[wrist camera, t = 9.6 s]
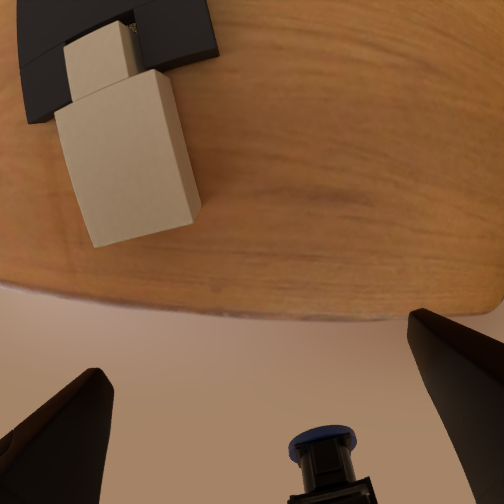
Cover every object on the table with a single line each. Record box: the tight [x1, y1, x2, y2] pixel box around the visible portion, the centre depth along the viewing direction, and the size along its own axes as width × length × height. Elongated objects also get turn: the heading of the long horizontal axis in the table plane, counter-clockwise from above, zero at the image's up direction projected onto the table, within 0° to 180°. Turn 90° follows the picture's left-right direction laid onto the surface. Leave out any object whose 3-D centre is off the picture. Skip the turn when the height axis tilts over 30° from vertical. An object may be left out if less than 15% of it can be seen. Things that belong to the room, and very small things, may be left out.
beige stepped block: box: [54, 21, 202, 248], centre depth 14 cm, size 12×6×3 cm, turn 12°
